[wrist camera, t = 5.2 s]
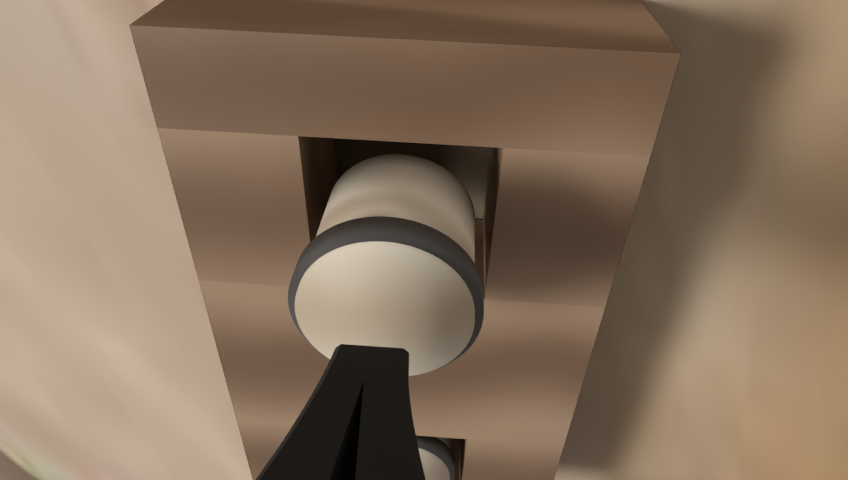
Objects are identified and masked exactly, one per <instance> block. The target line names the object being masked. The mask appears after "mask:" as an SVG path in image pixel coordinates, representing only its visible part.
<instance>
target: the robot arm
mask: <svg viewBox="0 0 848 480" xmlns="http://www.w3.org/2000/svg"><path fill="white" fill-rule="evenodd" d="M256 480H426V479H425V475H424V471H423V466H422V462H421V458H420V453H419V448H418V443H417V439H416V434H415V429H414V423H413V417H412V411H411V403H410V395H409V352H407V351H406V350H405V349H404V348H391V347H376V346H362V345H348V344H340V345H339V346H337V347H336V348H335V350H334V352H333V355H332V357H331V359H330V361H329V363H328V365H327V367H326V369H325V371H324V373H323V375H322V377H321V379H320V381H319V382H318V384H317V386H316V388H315V390H314V391H313V393H312V395H311V396H310V398H309V400H308V402H307V403H306V405H305V407H304V408H303V410H302V411H301V413H300V415H299V416H298V418H297V419H296V421H295V423H294V424H293V426H292V427H291V429H290V430H289V432H288V434H287V435H286V437H285V438H284V440H283V441H282V443H281V444H280V446H279V447H278V449H277V450H276V451H275V453H274V454H273V456H272V457H271V459H270V460H269V461H268V463H267V464H266V466H265V467H264V468H263V470H262V471H261V473H260V474H259V475H258V477H257V478H256Z"/></svg>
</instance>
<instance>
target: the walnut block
mask: <svg viewBox="0 0 848 480" xmlns="http://www.w3.org/2000/svg"><path fill="white" fill-rule="evenodd" d="M129 26H130V30H131V33H132V37H133V41H134V44H135V48H136V52H137V55H138V59H139V63H140V66H141V70H142V74H143V77H144V81H145V85H146V88H147V92H148V96H149V100H150V103H151V107H152V111H153V114H154V118H155V122H156V125H157V129H158V133H159V136H160V140H161V144H162V147H163V151H164V155H165V158H166V162H167V166H168V169H169V173H170V177H171V180H172V184H173V188H174V191H175V195H176V199H177V202H178V206H179V210H180V214H181V217H182V221H183V225H184V228H185V232H186V236H187V239H188V243H189V247H190V250H191V254H192V258H193V261H194V265H195V269H196V272H197V276H198V280H199V283H200V287H201V291H202V294H203V298H204V302H205V305H206V309H207V313H208V316H209V320H210V324H211V327H212V331H213V335H214V339H215V342H216V346H217V350H218V353H219V357H220V361H221V364H222V368H223V372H224V375H225V379H226V383H227V386H228V390H229V394H230V397H231V401H232V405H233V408H234V412H235V416H236V419H237V423H238V427H239V430H240V434H241V438H242V441H243V445H244V449H245V453H246V456H247V460H248V464H249V467H250V471H251V475H252V478H253V480H256V478H257V477H258V475H259V474H260V473H261V471H262V470H263V468H264V467H265V466H266V464H267V463H268V461H269V460H270V459H271V457H272V456H273V454H274V453H275V451H276V450H277V449H278V447H279V446H280V444H281V443H282V441H283V440H284V438H285V437H286V435H287V434H288V432H289V430H290V429H291V427H292V426H293V424H294V423H295V421H296V419H297V418H298V416H299V415H300V413H301V411H302V410H303V408H304V407H305V405H306V403H307V402H308V400H309V398H310V396H311V395H312V393H313V391H314V390H315V388H316V386H317V384H318V382H319V381H320V379H321V377H322V375H323V373H324V371H325V369H326V367H327V365H328V363H329V361H330V359H329V358H327V357H326V356H324V355H323V354H322V353H320V352H319V351H318V350H317V349H315V348H314V347H313V346H312V345H311V344H310V343H309V342H308V341H307V340H306V339H305V338H304V337H303V336H302V334H301V333H300V332H299V330H298V329H297V327H296V325H295V324H294V321H293V319H292V317H291V314H290V310H289V306H288V290H289V285H290V281H291V278H292V275H293V273H294V270H295V267H296V265H297V262H298V259H299V258H300V256H301V254H302V252H303V250H304V249H305V248H306V247H307V245H308V244H309V243H310V242H311V241H312V240H313V239H314V238H315V237H316V235H317V232H318V229H319V226H320V223H321V220H322V217H323V215H324V212H325V209H326V206H327V203H328V200H329V197H330V194H331V192H332V189H333V187H334V186H335V184H336V182H337V170H336V156H335V142H334V138H339V139H356V140H374V141H391V142H408V143H426V144H443V145H460V146H478V147H491V151H490V160H489V169H488V178H487V187H486V197H485V206H484V215H483V220H480V219H475V265H476V267H477V269H478V271H479V273H480V276H481V279H482V284H483V290H484V319H483V323H482V328H481V330H480V332H479V335H478V337H477V338H476V340H475V342H474V343H473V344H472V346H471V347H470V348H469V349H468V350H467V351H466V352H465V353H464V354H463V355H461V356H460V357H459V358H457V359H456V360H454V361H453V362H451V363H449V364H447V365H445V366H443V367H441V368H438V369H435V370H433V371H430V372H427V373H423V374H419V375H413V376H409V395H410V403H411V411H412V417H413V423H414V429H415V434H416V435H417V436H430V437H443V438H451V451H452V452H453V455H454V458H455V479H454V480H554V477H555V474H556V470H557V467H558V464H559V460H560V457H561V454H562V450H563V447H564V444H565V440H566V437H567V434H568V430H569V427H570V424H571V420H572V417H573V414H574V410H575V407H576V403H577V400H578V397H579V393H580V390H581V387H582V383H583V380H584V377H585V373H586V370H587V367H588V363H589V360H590V357H591V353H592V350H593V347H594V343H595V340H596V337H597V333H598V330H599V327H600V323H601V320H602V317H603V313H604V310H605V306H606V303H607V300H608V296H609V293H610V290H611V286H612V283H613V280H614V276H615V273H616V270H617V266H618V263H619V260H620V256H621V253H622V250H623V246H624V243H625V240H626V236H627V233H628V230H629V226H630V223H631V220H632V216H633V213H634V209H635V206H636V203H637V199H638V196H639V193H640V189H641V186H642V183H643V179H644V176H645V173H646V169H647V166H648V163H649V159H650V156H651V153H652V149H653V146H654V143H655V139H656V136H657V133H658V129H659V126H660V122H661V119H662V116H663V112H664V109H665V106H666V102H667V99H668V96H669V92H670V89H671V86H672V82H673V79H674V76H675V72H676V69H677V66H678V62H679V59H680V56H681V53H680V52H679V50H678V49H677V48H676V46H675V45H674V44H673V42H672V41H671V40H670V38H669V37H668V36H667V35H666V33H665V32H664V31H663V29H662V28H661V27H660V25H659V24H658V23H657V21H656V20H655V19H654V18H653V16H652V15H651V14H650V12H649V11H648V10H647V8H646V7H645V6H644V4H643V3H642V2H641V1H640V0H164V1H163V2H161V3H160V4H159V5H157V6H156V7H154V8H153V9H152V10H150V11H149V12H147V13H146V14H144V15H143V16H142V17H140V18H139V19H137V20H136V21H135V22H133V23H132V24H130V25H129Z"/></svg>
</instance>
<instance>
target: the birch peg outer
mask: <svg viewBox="0 0 848 480" xmlns="http://www.w3.org/2000/svg"><path fill="white" fill-rule="evenodd" d="M288 306H289V310H290V314H291V317H292V319H293V321H294V324H295V325H296V327H297V329H298V330H299V332H300V333H301V334H302V336H303V337H304V338H305V339H306V340H307V341H308V342H309V343H310V344H311V345H312V346H313V347H314V348H315V349H317V350H318V351H319V352H320V353H322V354H323V355H324V356H326V357H327V358H329V359H331V357H332V355H333V352H334V350H335V348H336V347H337V346H339V345H340V344H348V345H362V346H376V347H391V348H404V349H405V350H406V351H407V352H409V376H413V375H419V374H423V373H427V372H430V371H433V370H435V369H438V368H441V367H443V366H445V365H447V364H449V363H451V362H453V361H454V360H456V359H457V358H459V357H460V356H461V355H463V354H464V353H465V352H466V351H467V350H468V349H469V348H470V347H471V346H472V344H473V343H474V342H475V340H476V338H477V337H478V335H479V332H480V330H481V328H482V323H483V319H484V290H483V284H482V279H481V276H480V273H479V271H478V269H477V267H476V265H475V215H474V208H473V204H472V201H471V198H470V196H469V194H468V192H467V190H466V189H465V188H464V186H463V185H462V183H461V182H460V181H459V180H458V179H457V178H456V177H455V176H454V175H453V174H452V173H450V172H449V171H448V170H446V169H445V168H443V167H442V166H440V165H438V164H436V163H434V162H432V161H430V160H427V159H424V158H421V157H417V156H413V155H405V154H387V155H380V156H376V157H371V158H369V159H366V160H364V161H361V162H359V163H358V164H356V165H354V166H353V167H351V168H350V169H348V170H347V171H346V172H345V173H344V174H343V175H342V176H341V177H340V178H339V180H338V181H337V182H336V184H335V186H334V187H333V189H332V192H331V194H330V197H329V200H328V203H327V206H326V209H325V212H324V215H323V217H322V220H321V223H320V226H319V229H318V232H317V235H316V237H315V238H314V239H313V240H312V241H311V242H310V243H309V244H308V245H307V247H306V248H305V249H304V250H303V252H302V254H301V256H300V258H299V259H298V262H297V265H296V267H295V270H294V273H293V275H292V278H291V281H290V285H289V290H288Z"/></svg>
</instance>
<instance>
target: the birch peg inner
mask: <svg viewBox="0 0 848 480" xmlns="http://www.w3.org/2000/svg"><path fill="white" fill-rule="evenodd" d="M416 439H417V443H418V448H419V453H420V458H421V462H422V466H423V471H424V475H425V479H426V480H454V479H455V458H454V455H453V452H452V451H451V438H443V437H430V436H417V435H416Z"/></svg>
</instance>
